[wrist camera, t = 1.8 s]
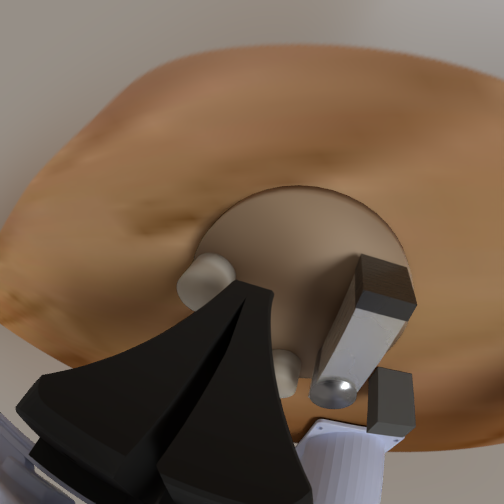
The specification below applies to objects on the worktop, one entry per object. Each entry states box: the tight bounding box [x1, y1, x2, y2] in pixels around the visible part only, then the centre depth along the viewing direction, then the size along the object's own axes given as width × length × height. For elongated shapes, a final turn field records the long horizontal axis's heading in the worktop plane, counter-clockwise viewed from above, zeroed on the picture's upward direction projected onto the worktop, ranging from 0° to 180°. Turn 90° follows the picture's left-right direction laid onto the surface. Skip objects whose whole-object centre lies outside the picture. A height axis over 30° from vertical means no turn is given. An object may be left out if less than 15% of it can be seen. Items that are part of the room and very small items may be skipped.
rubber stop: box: [366, 367, 416, 438], centre depth 15 cm, size 1×2×4 cm, turn 80°
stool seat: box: [177, 185, 414, 398], centre depth 14 cm, size 11×11×3 cm
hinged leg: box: [308, 253, 417, 409], centre depth 12 cm, size 7×2×3 cm, turn 170°
